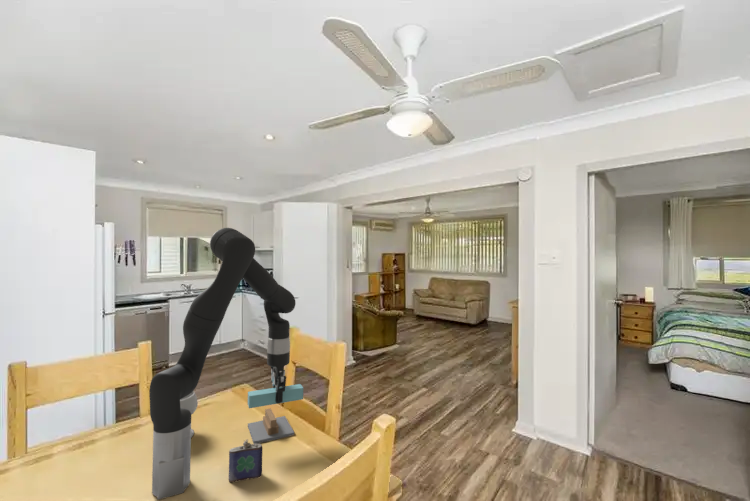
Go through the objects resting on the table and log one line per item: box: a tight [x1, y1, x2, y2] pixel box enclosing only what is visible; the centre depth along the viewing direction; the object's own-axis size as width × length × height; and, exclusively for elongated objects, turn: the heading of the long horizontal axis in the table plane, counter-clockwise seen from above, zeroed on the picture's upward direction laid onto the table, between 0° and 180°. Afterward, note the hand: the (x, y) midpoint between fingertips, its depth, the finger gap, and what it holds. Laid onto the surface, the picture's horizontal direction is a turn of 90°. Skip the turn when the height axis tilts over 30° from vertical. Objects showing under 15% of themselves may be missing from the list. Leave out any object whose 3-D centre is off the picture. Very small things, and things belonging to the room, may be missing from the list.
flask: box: [228, 439, 263, 483], centre depth 103 cm, size 9×3×11 cm, turn 109°
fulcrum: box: [247, 407, 295, 444], centre depth 129 cm, size 14×14×6 cm
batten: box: [247, 383, 304, 409], centre depth 120 cm, size 4×18×4 cm, turn 117°
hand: (277, 399), depth 121 cm, fingers closed on batten, 4 cm apart
